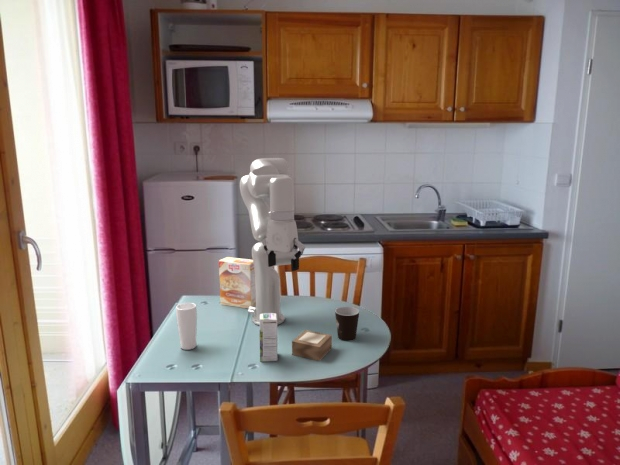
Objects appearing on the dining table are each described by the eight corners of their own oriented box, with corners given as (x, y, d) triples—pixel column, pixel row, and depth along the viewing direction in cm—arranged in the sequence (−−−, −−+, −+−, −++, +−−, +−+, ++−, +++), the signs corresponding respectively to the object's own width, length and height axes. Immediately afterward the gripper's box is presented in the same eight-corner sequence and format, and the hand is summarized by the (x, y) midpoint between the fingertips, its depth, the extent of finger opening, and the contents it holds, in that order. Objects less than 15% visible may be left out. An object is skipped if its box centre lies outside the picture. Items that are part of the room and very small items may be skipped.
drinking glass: (181, 353, 165) (178, 311, 161) (176, 345, 171) (173, 304, 167) (201, 348, 168) (198, 307, 165) (195, 341, 174) (193, 301, 170)
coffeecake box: (220, 304, 209) (218, 260, 204) (228, 299, 215) (226, 256, 211) (251, 309, 203) (249, 264, 199) (259, 303, 210) (258, 259, 205)
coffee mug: (357, 343, 171) (357, 316, 169) (333, 341, 173) (333, 314, 171) (360, 329, 183) (361, 304, 180) (337, 328, 184) (338, 302, 182)
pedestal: (292, 354, 163) (292, 340, 162) (305, 342, 172) (305, 329, 171) (319, 360, 159) (319, 346, 158) (331, 348, 168) (331, 334, 167)
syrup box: (259, 354, 164) (258, 313, 161) (277, 353, 164) (276, 312, 161) (260, 362, 158) (258, 320, 155) (278, 361, 159) (277, 319, 156)
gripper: (254, 215, 158) (255, 266, 162) (296, 220, 148) (297, 274, 151) (269, 212, 164) (271, 261, 167) (311, 216, 154) (311, 269, 157)
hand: (283, 268), depth 159 cm, fingers open, 9 cm apart
